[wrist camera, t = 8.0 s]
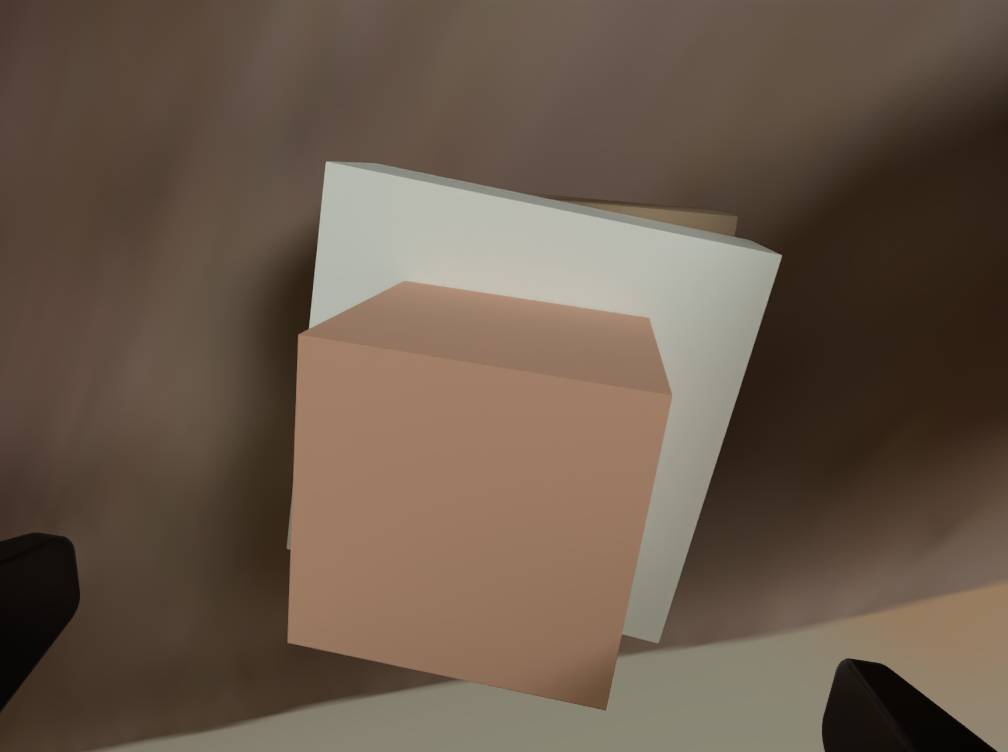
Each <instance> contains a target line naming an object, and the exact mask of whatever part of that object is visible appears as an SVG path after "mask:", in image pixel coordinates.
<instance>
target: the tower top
mask: <svg viewBox="0 0 1008 752" xmlns="http://www.w3.org/2000/svg"><path fill="white" fill-rule="evenodd" d="M781 258H782V255H780V254H778V253H776V252H774V251H772V250H770V249H768V248H766V247H763V246H761V245H759V244H757V243H755V242H753V241H751V240H747V239H742V238H737V237H732V236H728V235H723V234H718V233H713V232H708V231H703V230H698V229H693V228H689V227H684V226H679V225H674V224H669V223H664V222H659V221H654V220H650V219H645V218H640V217H635V216H630V215H625V214H620V213H615V212H611V211H606V210H601V209H596V208H591V207H586V206H581V205H576V204H572V203H567V202H562V201H557V200H552V199H547V198H542V197H537V196H532V195H528V194H523V193H518V192H513V191H508V190H503V189H498V188H493V187H489V186H484V185H479V184H474V183H469V182H464V181H459V180H454V179H450V178H445V177H440V176H435V175H430V174H425V173H420V172H415V171H411V170H406V169H401V168H396V167H391V166H386V165H381V164H376V163H356V162H328V161H326V166H325V176H324V186H323V196H322V206H321V215H320V225H319V235H318V245H317V255H316V264H315V274H314V284H313V294H312V304H311V314H310V323H309V329H310V328H312V327H314V326H316V325H318V324H320V323H322V322H324V321H326V320H328V319H330V318H332V317H334V316H336V315H338V314H340V313H342V312H344V311H346V310H348V309H350V308H352V307H353V306H355V305H357V304H359V303H361V302H363V301H365V300H367V299H369V298H371V297H373V296H375V295H377V294H379V293H381V292H383V291H385V290H387V289H389V288H391V287H393V286H395V285H397V284H399V283H401V282H403V281H409V282H416V283H423V284H429V285H436V286H442V287H449V288H456V289H462V290H469V291H475V292H482V293H488V294H495V295H502V296H508V297H515V298H521V299H528V300H535V301H541V302H548V303H554V304H561V305H567V306H574V307H581V308H587V309H594V310H600V311H607V312H614V313H620V314H627V315H633V316H640V317H647V318H649V319H650V322H651V326H652V329H653V332H654V336H655V339H656V342H657V346H658V349H659V352H660V356H661V359H662V362H663V366H664V369H665V372H666V376H667V379H668V382H669V386H670V389H671V392H672V395H673V396H672V400H671V405H670V410H669V415H668V419H667V424H666V429H665V433H664V438H663V443H662V448H661V452H660V457H659V462H658V466H657V471H656V476H655V481H654V485H653V490H652V495H651V499H650V504H649V509H648V514H647V518H646V523H645V528H644V533H643V537H642V542H641V547H640V551H639V556H638V561H637V566H636V570H635V575H634V580H633V584H632V589H631V594H630V599H629V603H628V608H627V613H626V618H625V622H624V627H623V632H622V634H623V635H627V636H631V637H635V638H639V639H643V640H647V641H650V642H654V643H658V644H659V641H660V637H661V634H662V631H663V628H664V625H665V622H666V619H667V615H668V612H669V609H670V606H671V603H672V600H673V597H674V594H675V590H676V587H677V584H678V581H679V578H680V575H681V572H682V568H683V565H684V562H685V559H686V556H687V553H688V550H689V546H690V543H691V540H692V537H693V534H694V531H695V528H696V525H697V521H698V518H699V515H700V512H701V509H702V506H703V503H704V499H705V496H706V493H707V490H708V487H709V484H710V481H711V477H712V474H713V471H714V468H715V465H716V462H717V459H718V456H719V452H720V449H721V446H722V443H723V440H724V437H725V434H726V430H727V427H728V424H729V421H730V418H731V415H732V412H733V408H734V405H735V402H736V399H737V396H738V393H739V390H740V386H741V383H742V380H743V377H744V374H745V371H746V368H747V365H748V361H749V358H750V355H751V352H752V349H753V346H754V343H755V339H756V336H757V333H758V330H759V327H760V324H761V321H762V317H763V314H764V311H765V308H766V305H767V302H768V299H769V296H770V292H771V289H772V286H773V283H774V280H775V277H776V274H777V270H778V267H779V264H780V261H781ZM292 500H293V490H292ZM292 500H291V510H290V520H289V530H288V539H287V549H290V550H291V528H292Z"/></svg>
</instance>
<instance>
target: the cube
mask: <svg viewBox="0 0 1008 752" xmlns="http://www.w3.org/2000/svg"><path fill="white" fill-rule="evenodd" d="M672 396H673V395H672V392H671V389H670V386H669V382H668V379H667V376H666V372H665V369H664V366H663V362H662V359H661V356H660V352H659V349H658V346H657V342H656V339H655V336H654V332H653V329H652V326H651V322H650V319H649V318H647V317H640V316H633V315H627V314H620V313H614V312H607V311H600V310H594V309H587V308H581V307H574V306H567V305H561V304H554V303H548V302H541V301H535V300H528V299H521V298H515V297H508V296H502V295H495V294H488V293H482V292H475V291H469V290H462V289H456V288H449V287H442V286H436V285H429V284H423V283H416V282H409V281H403V282H401V283H399V284H397V285H395V286H393V287H391V288H389V289H387V290H385V291H383V292H381V293H379V294H377V295H375V296H373V297H371V298H369V299H367V300H365V301H363V302H361V303H359V304H357V305H355V306H353V307H352V308H350V309H348V310H346V311H344V312H342V313H340V314H338V315H336V316H334V317H332V318H330V319H328V320H326V321H324V322H322V323H320V324H318V325H316V326H314V327H312V328H310V329H308V330H306V331H304V332H302V333H300V334H298V358H297V386H296V415H295V443H294V471H293V500H292V528H291V557H290V585H289V613H288V642H287V643H291V644H296V645H301V646H306V647H310V648H315V649H320V650H324V651H329V652H334V653H338V654H343V655H348V656H353V657H357V658H362V659H367V660H371V661H376V662H381V663H386V664H390V665H395V666H400V667H404V668H409V669H414V670H418V671H423V672H428V673H433V674H437V675H442V676H447V677H451V678H456V679H461V680H466V681H470V682H475V683H480V684H485V685H489V686H494V687H498V688H503V689H508V690H513V691H518V692H522V693H527V694H532V695H536V696H541V697H546V698H550V699H555V700H560V701H564V702H569V703H574V704H579V705H583V706H588V707H593V708H597V709H602V710H606V707H607V702H608V698H609V693H610V688H611V683H612V678H613V674H614V669H615V664H616V660H617V655H618V651H619V646H620V641H621V636H622V632H623V627H624V622H625V618H626V613H627V608H628V603H629V599H630V594H631V589H632V584H633V580H634V575H635V570H636V566H637V561H638V556H639V551H640V547H641V542H642V537H643V533H644V528H645V523H646V518H647V514H648V509H649V504H650V499H651V495H652V490H653V485H654V481H655V476H656V471H657V466H658V462H659V457H660V452H661V448H662V443H663V438H664V433H665V429H666V424H667V419H668V415H669V410H670V405H671V400H672Z"/></svg>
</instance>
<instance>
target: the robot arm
mask: <svg viewBox="0 0 1008 752" xmlns="http://www.w3.org/2000/svg"><path fill="white" fill-rule="evenodd" d="M79 600H80V589H79V581H78V572H77V564H76V556H75V549H74V545H73V544H72V542H71V541H70V540H69V539H68V538H66V537H63V536H57V535H51V534H44V533H30V534H26V535H22V536H19V537H15V538H11V539H8V540H4V541H0V712H1V711H2V710H3V708H4V707H5V706H6V704H7V703H8V702H9V701H10V699H11V698H12V697H13V695H14V694H15V693H16V691H17V690H18V689H19V687H20V686H21V685H22V683H23V682H24V681H25V679H26V678H27V677H28V675H29V674H30V673H31V672H32V670H33V669H34V668H35V666H36V665H37V664H38V662H39V661H40V660H41V658H42V657H43V656H44V654H45V653H46V652H47V650H48V649H49V648H50V647H51V645H52V644H53V643H54V641H55V640H56V639H57V637H58V636H59V635H60V633H61V632H62V631H63V629H64V628H65V627H66V625H67V624H68V623H69V622H70V620H71V619H72V617H73V616H74V614H75V612H76V610H77V608H78V605H79ZM822 738H823V745H824V749H825V752H997V751H996V750H995V749H993V748H992V747H991V746H990V745H988V744H987V743H986V742H984V741H983V740H982V739H981V738H979V737H978V736H977V735H975V734H974V733H973V732H971V731H970V730H969V729H968V728H966V727H965V726H964V725H962V724H961V723H960V722H958V721H957V720H956V719H954V718H953V717H952V716H951V715H949V714H948V713H947V712H946V711H944V710H943V709H941V708H940V707H939V706H938V705H936V704H935V703H934V702H933V701H931V700H930V699H929V698H927V697H926V696H925V695H923V694H922V693H921V692H920V691H918V690H917V689H915V688H914V687H913V686H912V685H910V684H909V683H908V682H907V681H905V680H904V679H903V678H901V677H900V676H899V675H898V674H896V673H895V672H894V671H892V670H891V669H890V668H888V667H887V666H885V665H883V664H880V663H876V662H869V661H863V660H856V659H849V658H848V659H845V660H843V661H841V662H840V664H839V665H838V667H837V669H836V673H835V676H834V680H833V683H832V687H831V691H830V695H829V698H828V702H827V706H826V709H825V713H824V716H823V722H822Z"/></svg>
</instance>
